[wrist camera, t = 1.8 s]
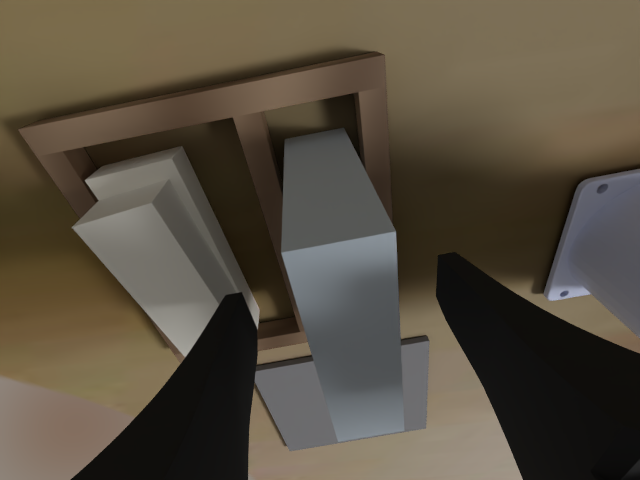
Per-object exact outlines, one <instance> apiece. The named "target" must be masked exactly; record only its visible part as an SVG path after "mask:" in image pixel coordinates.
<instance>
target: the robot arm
mask: <svg viewBox="0 0 640 480" xmlns="http://www.w3.org/2000/svg"><path fill="white" fill-rule="evenodd" d="M599 186H600V187H599ZM598 187H599V188H598ZM588 294H592V295H593V296H594V297H595V298H596V299H597V300H598V301H599V302H600V303H602V304H603V305H604V306H605V307H606V308H607V309H608V310H609V311H610V312H611V313H612V314H614V315H615V316H616V317H617V318H618V319H619V320H620V321H621V322H622V323H623V324H625V325H626V326H627V327H628V328H629V329H630V330H631V331H632V332H633V333H634V334H636V335H637V336H638V337H639V338H640V169H636V170H630V171H625V172H620V173H614V174H609V175H604V176H599V177H593V178H589V179H586V180H584V181H582V182H581V183H580V184H579V185H578V187H577V188H576V191H575V194H574V198H573V201H572V204H571V207H570V210H569V214H568V217H567V220H566V223H565V226H564V230H563V233H562V236H561V239H560V242H559V246H558V249H557V252H556V255H555V258H554V262H553V265H552V268H551V271H550V274H549V278H548V281H547V284H546V287H545V290H544V296H545V297H546V298H547V299H548V300H550V301H554V300H560V299H565V298H571V297H577V296H582V295H588ZM436 297H437V300H438V302H439V305H440V307H441V310H442V312H443V314H444V317H445V319H446V321H447V323H448V325H449V327H450V328H451V330H452V332H453V334H454V335H455V337H456V339H457V341H458V342H459V344H460V346H461V348H462V349H463V351H464V353H465V355H466V356H467V358H468V360H469V362H470V363H471V365H472V367H473V369H474V370H475V372H476V374H477V376H478V378H479V379H480V381H481V383H482V385H483V387H484V389H485V391H486V394H487V396H488V398H489V400H490V402H491V405H492V407H493V409H494V411H495V414H496V416H497V418H498V420H499V423H500V425H501V427H502V430H503V432H504V434H505V437H506V439H507V441H508V444H509V446H510V449H511V451H512V453H513V456H514V458H515V461H516V463H517V466H518V468H519V471H520V473H521V476H522V478H523V480H640V354H639V353H637V352H634V351H632V350H629V349H627V348H624V347H622V346H619V345H617V344H614V343H612V342H610V341H607V340H605V339H603V338H601V337H598V336H596V335H594V334H592V333H589V332H587V331H585V330H583V329H581V328H578V327H576V326H574V325H572V324H570V323H568V322H566V321H564V320H562V319H560V318H558V317H556V316H555V315H553V314H551V313H549V312H547V311H545V310H543V309H541V308H540V307H538V306H536V305H534V304H533V303H531V302H529V301H528V300H526V299H524V298H522V297H521V296H519V295H517V294H516V293H514V292H513V291H511V290H509V289H508V288H506V287H505V286H503V285H502V284H500V283H499V282H497V281H496V280H494V279H493V278H491V277H490V276H488V275H487V274H485V273H484V272H483V271H481V270H480V269H478V268H477V267H475V266H474V265H473V264H471V263H470V262H468V261H467V260H466V259H464V258H463V257H461V256H460V255H459V254H457V253H456V252H453V253H447V254H442V255H438V266H437V286H436ZM257 355H258V333H257V327H256V324H255V322H254V319H253V317H252V315H251V312H250V310H249V308H248V305H247V303H246V301H245V298H244V296H243V294H242V292H239V293H234V294H228V295H225V296H224V298H223V299H222V301H221V303H220V304H219V306H218V308H217V309H216V311H215V313H214V314H213V316H212V317H211V319H210V321H209V322H208V324H207V325H206V327H205V329H204V330H203V332H202V333H201V335H200V336H199V338H198V339H197V341H196V343H195V344H194V346H193V347H192V349H191V350H190V351H189V353H188V354H187V356H186V357H185V358H184V360H183V361H182V363H181V364H180V365H179V367H178V368H177V370H176V371H175V372H174V373H173V375H172V376H171V377H170V379H169V380H168V381H167V382H166V384H165V385H164V386H163V387H162V389H161V390H160V391H159V392H158V393H157V395H156V396H155V397H154V398H153V399H152V400H151V402H150V403H149V404H148V405H147V406H146V407H145V408H144V409H143V410H142V411H141V412H140V413H139V414H138V416H137V417H136V418H135V419H134V420H133V421H132V422H131V423H130V424H129V425H128V426H127V427H126V428H125V429H124V430H123V431H122V432H121V433H120V435H119V436H117V437H116V439H114V440H113V441H112V442H111V443H110V444H109V445H108V446H107V447H106V448H105V449H104V450H103V451H102V452H101V453H100V454H99V455H98V456H97V457H95V458H94V459H93V460H92V461H91V462H90V463H89V464H88V465H87V466H86V467H85V468H83V469H82V470H81V471H80V472H79V473H78V474H77V475H75V476H74V477H73V478H72V479H71V480H248V448H249V424H250V413H251V405H252V397H253V389H254V381H255V373H256V364H257Z"/></svg>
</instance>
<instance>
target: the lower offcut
mask: <svg viewBox="0 0 640 480" xmlns="http://www.w3.org/2000/svg"><path fill="white" fill-rule="evenodd" d="M166 179H169V180H170V182H171V183H172V185H173V187H174V188H175V190H176V192H177V193H178V195H179V197H180V198H181V200H182V202H183V203H184V205H185V207H186V208H187V210H188V212H189V213H190V215H191V217H192V218H193V220H194V222H195V223H196V225H197V227H198V228H199V230H200V232H201V233H202V235H203V237H204V238H205V240H206V242H207V243H208V245H209V247H210V248H211V250H212V252H213V253H214V255H215V257H216V258H217V260H218V262H219V263H220V265H221V267H222V268H223V270H224V272H225V273H226V275H227V277H228V278H229V280H230V282H231V283H232V285H233V287H234V288H235V290H236V292H237V293H239V292H242V294H243V296H244V298H245V301H246V303H247V305H248V308H249V310H250V312H251V315H252V317H253V319H254V322H255V324H256V327H257V329H258V323H259V312H260V309H259V307H258V305H257V303H256V301H255V299H254V297H253V295H252V292H251V290H250V288H249V286H248V284H247V282H246V280H245V278H244V276H243V273H242V271H241V269H240V267H239V265H238V263H237V261H236V259H235V256H234V254H233V252H232V250H231V248H230V246H229V244H228V242H227V240H226V237H225V235H224V233H223V231H222V229H221V227H220V225H219V223H218V221H217V218H216V216H215V214H214V212H213V210H212V208H211V206H210V204H209V201H208V199H207V197H206V195H205V193H204V191H203V189H202V187H201V185H200V182H199V180H198V178H197V176H196V174H195V172H194V170H193V168H192V166H191V163H190V161H189V159H188V157H187V155H186V153H185V151H184V149H183V146H180V147H176V148H172V149H168V150H164V151H160V152H156V153H152V154H148V155H144V156H140V157H136V158H132V159H128V160H124V161H120V162H116V163H112V164H108V165H104V166H102V167H100V168H99V169H98V170H97V171H95V172H94V173H93V174H92V175H91V176H89V177H88V178H87V179H86V180H85V182H86V183H87V185H88V186H89V187H90V189H91V190H92V192H93V193H94V195H95V196H96V197H97V199H98V200H102V199H105V198H108V197H112V196H115V195H118V194H121V193H124V192H128V191H131V190H134V189H137V188H140V187H144V186H147V185H150V184H153V183H157V182H160V181H163V180H166Z"/></svg>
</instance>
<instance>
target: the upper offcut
mask: <svg viewBox="0 0 640 480" xmlns="http://www.w3.org/2000/svg"><path fill="white" fill-rule="evenodd" d="M72 228H73V229H74V230H75V232H76V233H77V234H78V235H79V236H80V237H81V238H82V240H83V241H84V242H85V243H86V244H87V245H88V246H89V248H90V249H91V250H92V251H93V252H94V253H95V254H96V256H97V257H98V258H99V259H100V260H101V261H102V263H103V264H104V265H105V266H106V267H107V268H108V269H109V271H110V272H111V273H112V274H113V275H114V276H115V277H116V279H117V280H118V281H119V282H120V283H121V284H122V285H123V287H124V288H125V289H126V290H127V291H128V292H129V294H130V295H131V296H132V297H133V298H134V299H135V300H136V302H137V303H138V304H139V305H140V306H141V307H142V308H143V310H144V311H145V312H146V313H147V314H148V315H149V316H150V318H151V319H152V320H153V321H154V322H155V323H156V325H157V326H158V327H159V328H160V329H161V330H162V331H163V333H164V334H165V335H166V336H167V337H168V338H169V339H170V341H171V342H172V343H173V344H174V345H175V346H176V347H177V349H178V350H179V351H180V352H181V353H182V354H183V356H184V357H186V356H187V354H188V353H189V351H190V350H191V349H192V347H193V346H194V344H195V343H196V341H197V339H198V338H199V336H200V335H201V333H202V332H203V330H204V329H205V327H206V325H207V324H208V322H209V321H210V319H211V317H212V316H213V314H214V313H215V311H216V309H217V308H218V306H219V304H220V303H221V301H222V299H223V298H224V296H225V295H228V294H234V293H237V292H236V290H235V288H234V287H233V285H232V283H231V282H230V280H229V278H228V277H227V275H226V273H225V272H224V270H223V268H222V267H221V265H220V263H219V262H218V260H217V258H216V257H215V255H214V253H213V252H212V250H211V248H210V247H209V245H208V243H207V242H206V240H205V238H204V237H203V235H202V233H201V232H200V230H199V228H198V227H197V225H196V223H195V222H194V220H193V218H192V217H191V215H190V213H189V212H188V210H187V208H186V207H185V205H184V203H183V202H182V200H181V198H180V197H179V195H178V193H177V192H176V190H175V188H174V187H173V185H172V183H171V182H170V180H169V179H166V180H163V181H160V182H157V183H153V184H150V185H147V186H144V187H140V188H137V189H134V190H131V191H128V192H124V193H121V194H118V195H115V196H112V197H108V198H105V199H102V200H99V201H98V202H97V203H96V204H95V205H94V206H93V207H92V208H91V209H90V210H89V211H88V212H87V213H86V214H85V215H84V216H83V217H82V218H81V219H80V220H79V221H78V222H77V223H76V224H75V225H74V226H72Z"/></svg>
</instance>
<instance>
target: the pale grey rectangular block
mask: <svg viewBox="0 0 640 480" xmlns="http://www.w3.org/2000/svg"><path fill="white" fill-rule="evenodd" d="M281 254H282V257H283V260H284V264H285V267H286V270H287V274H288V277H289V280H290V284H291V287H292V290H293V294H294V297H295V300H296V304H297V307H298V310H299V314H300V317H301V320H302V324H303V327H304V330H305V334H306V337H307V340H308V344H309V347H310V350H311V354H312V357H313V360H314V364H315V367H316V370H317V374H318V377H319V380H320V384H321V387H322V390H323V393H324V397H325V400H326V403H327V407H328V410H329V413H330V417H331V420H332V423H333V427H334V430H335V433H336V437H337V440H338V442H341V441H347V440H353V439H359V438H365V437H371V436H377V435H383V434H389V433H395V432H401V431H405V430H404V407H403V383H402V360H401V337H400V313H399V290H398V267H397V243H396V230H395V228H394V226H393V224H392V222H391V220H390V218H389V216H388V215H387V213H386V211H385V209H384V207H383V205H382V203H381V201H380V199H379V197H378V195H377V193H376V191H375V189H374V187H373V185H372V183H371V181H370V179H369V177H368V175H367V173H366V171H365V169H364V167H363V165H362V163H361V161H360V159H359V157H358V155H357V153H356V151H355V149H354V147H353V145H352V143H351V141H350V139H349V137H348V135H347V133H346V131H345V129H344V128H339V129H334V130H329V131H324V132H319V133H313V134H308V135H303V136H298V137H293V138H288V139H285V147H284V179H283V210H282V242H281Z"/></svg>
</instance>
